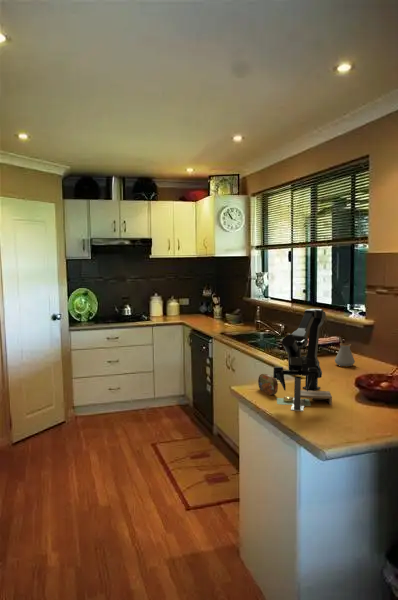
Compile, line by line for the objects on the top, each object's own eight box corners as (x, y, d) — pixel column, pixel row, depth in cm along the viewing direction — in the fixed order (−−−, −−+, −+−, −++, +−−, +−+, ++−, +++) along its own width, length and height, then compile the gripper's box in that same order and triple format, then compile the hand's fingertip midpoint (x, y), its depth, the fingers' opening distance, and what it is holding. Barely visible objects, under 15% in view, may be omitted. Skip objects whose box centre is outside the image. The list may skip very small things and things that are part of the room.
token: (283, 399, 209) (283, 395, 209) (293, 399, 209) (293, 396, 209) (283, 402, 205) (283, 398, 205) (293, 402, 204) (293, 399, 204)
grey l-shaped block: (294, 399, 209) (294, 369, 207) (305, 400, 207) (306, 370, 206) (290, 410, 194) (291, 378, 193) (302, 411, 193) (303, 378, 191)
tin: (257, 388, 227) (257, 372, 226) (263, 388, 228) (263, 371, 227) (272, 397, 213) (273, 379, 212) (278, 396, 214) (279, 378, 213)
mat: (276, 398, 211) (276, 397, 211) (308, 399, 209) (308, 399, 209) (277, 404, 202) (277, 404, 202) (310, 405, 200) (310, 405, 200)
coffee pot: (356, 367, 269) (357, 342, 268) (336, 367, 270) (337, 342, 269) (347, 359, 290) (348, 336, 289) (329, 359, 291) (329, 336, 290)
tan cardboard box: (295, 398, 211) (295, 390, 210) (329, 399, 209) (329, 391, 208) (296, 404, 203) (296, 395, 202) (331, 405, 201) (331, 396, 200)
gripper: (273, 348, 199) (274, 380, 189) (318, 349, 196) (320, 381, 186) (273, 362, 207) (273, 393, 197) (315, 363, 205) (318, 394, 195)
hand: (296, 390), depth 194 cm, fingers open, 9 cm apart
